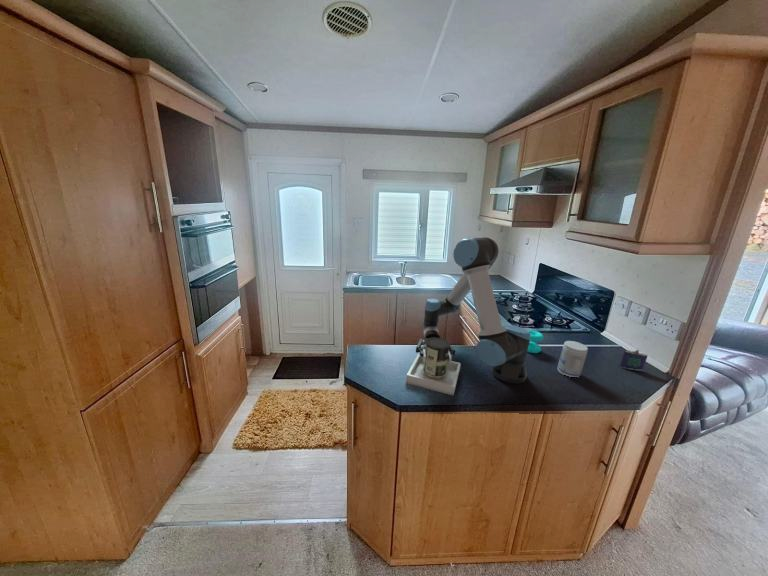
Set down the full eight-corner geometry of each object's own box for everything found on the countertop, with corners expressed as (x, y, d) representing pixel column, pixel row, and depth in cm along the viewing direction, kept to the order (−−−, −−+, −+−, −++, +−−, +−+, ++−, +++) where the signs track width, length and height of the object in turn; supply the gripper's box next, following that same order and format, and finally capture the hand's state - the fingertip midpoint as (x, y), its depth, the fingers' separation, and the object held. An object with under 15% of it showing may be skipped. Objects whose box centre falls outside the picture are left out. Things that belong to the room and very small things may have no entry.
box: (459, 370, 135) (460, 363, 134) (453, 395, 117) (454, 387, 116) (417, 360, 142) (418, 353, 141) (405, 383, 124) (406, 374, 123)
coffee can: (446, 366, 133) (449, 338, 129) (446, 379, 123) (450, 349, 119) (423, 363, 135) (426, 335, 131) (421, 375, 125) (424, 346, 121)
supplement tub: (552, 367, 143) (559, 339, 139) (572, 368, 143) (579, 340, 139) (564, 378, 134) (571, 349, 129) (585, 379, 134) (593, 350, 129)
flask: (641, 370, 144) (647, 350, 141) (643, 373, 142) (650, 353, 139) (618, 365, 148) (624, 346, 144) (620, 368, 145) (626, 349, 142)
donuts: (548, 336, 153) (532, 337, 151) (544, 353, 156) (528, 354, 154) (534, 328, 162) (519, 329, 160) (531, 344, 165) (516, 346, 163)
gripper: (454, 345, 145) (463, 370, 123) (408, 341, 145) (409, 366, 124) (456, 331, 142) (465, 354, 121) (409, 328, 143) (411, 350, 122)
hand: (437, 360), depth 123 cm, fingers closed on coffee can, 10 cm apart
